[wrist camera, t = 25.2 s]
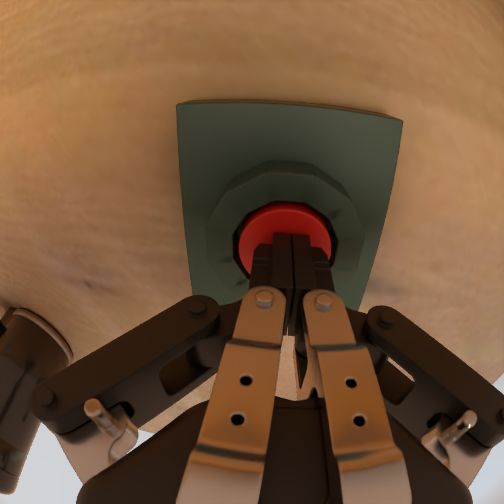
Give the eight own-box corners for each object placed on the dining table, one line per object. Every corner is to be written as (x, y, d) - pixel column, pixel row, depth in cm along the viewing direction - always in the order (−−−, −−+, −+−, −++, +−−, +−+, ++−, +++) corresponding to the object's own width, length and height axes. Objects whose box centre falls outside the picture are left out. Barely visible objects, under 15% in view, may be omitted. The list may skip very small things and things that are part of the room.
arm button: (319, 268, 15) (323, 290, 13) (242, 264, 15) (238, 285, 14) (331, 196, 13) (338, 213, 11) (243, 190, 13) (238, 206, 11)
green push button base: (349, 297, 19) (359, 342, 15) (202, 288, 19) (188, 332, 16) (387, 114, 12) (421, 127, 9) (189, 100, 13) (160, 107, 10)
